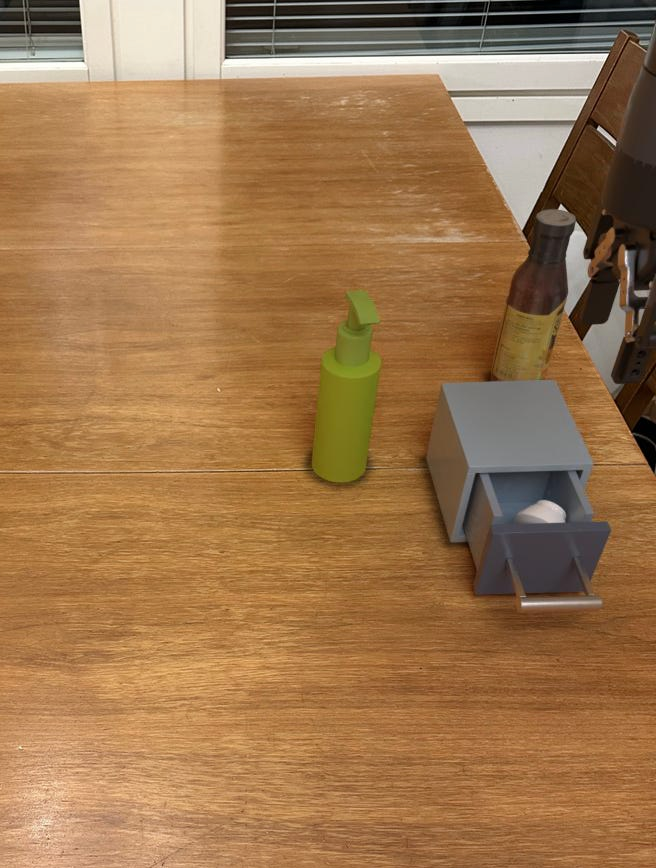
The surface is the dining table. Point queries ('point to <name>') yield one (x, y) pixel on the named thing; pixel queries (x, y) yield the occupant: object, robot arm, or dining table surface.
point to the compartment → (534, 540)
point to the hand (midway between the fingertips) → (607, 350)
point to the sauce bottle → (535, 302)
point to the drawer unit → (499, 439)
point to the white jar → (541, 513)
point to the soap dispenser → (347, 395)
